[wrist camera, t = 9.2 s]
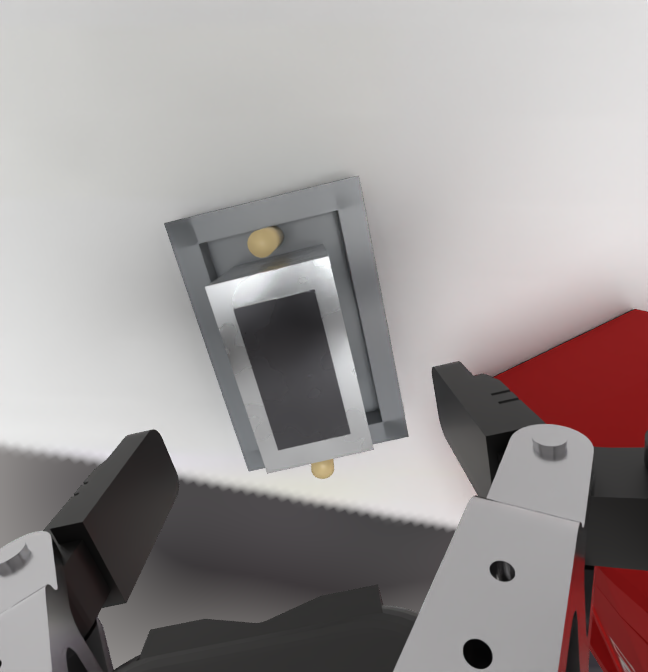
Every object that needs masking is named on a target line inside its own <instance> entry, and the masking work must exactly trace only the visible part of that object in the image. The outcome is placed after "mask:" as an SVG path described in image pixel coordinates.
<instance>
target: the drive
mask: <svg viewBox="0 0 648 672" xmlns="http://www.w3.org/2000/svg"><path fill="white" fill-rule="evenodd" d="M205 289H206V292H207V295H208V298H209V301H210V304H211V307H212V310H213V313H214V316H215V319H216V322H217V325H218V328H219V331H220V334H221V337H222V340H223V343H224V346H225V349H226V352H227V355H228V358H229V361H230V364H231V367H232V370H233V373H234V376H235V379H236V382H237V385H238V388H239V391H240V394H241V397H242V400H243V403H244V406H245V409H246V412H247V415H248V418H249V420H250V423H251V426H252V429H253V432H254V435H255V438H256V441H257V444H258V447H259V450H260V453H261V456H262V459H263V462H264V465H265V468H266V471H267V474H268V473H272V472H276V471H281V470H285V469H290V468H294V467H299V466H303V465H307V464H312V463H316V462H321V461H325V460H330V459H334V458H338V457H343V456H347V455H352V454H356V453H361V452H365V451H369V450H374V448H373V444H372V440H371V436H370V431H369V427H368V423H367V418H366V414H365V410H364V406H363V401H362V397H361V393H360V389H359V384H358V380H357V376H356V371H355V367H354V363H353V359H352V354H351V350H350V346H349V342H348V337H347V333H346V329H345V324H344V320H343V316H342V312H341V307H340V303H339V299H338V295H337V290H336V286H335V282H334V277H333V273H332V269H331V265H330V260H329V256H328V254H327V251H326V249H325V246H324V244H320V245H316V246H312V247H308V248H304V249H300V250H296V251H292V252H288V253H284V254H280V255H276V256H272V257H268V258H264V259H260V260H256V261H252V262H248V263H244V264H240V265H236V266H234V267H233V268H231V269H230V270H229V271H227V272H226V273H224V274H223V275H221V276H220V277H218V278H217V279H216V280H214V281H213V282H211V283H210V284H208V285H207V286H205Z"/></svg>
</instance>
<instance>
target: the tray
mask: <svg viewBox="0 0 648 672" xmlns="http://www.w3.org/2000/svg"><path fill="white" fill-rule="evenodd" d="M164 225H165V227H166V230H167V233H168V236H169V239H170V242H171V245H172V248H173V251H174V254H175V257H176V260H177V263H178V266H179V268H180V271H181V274H182V277H183V280H184V283H185V286H186V289H187V292H188V295H189V298H190V301H191V304H192V307H193V310H194V312H195V315H196V318H197V321H198V324H199V327H200V330H201V333H202V336H203V339H204V342H205V345H206V348H207V351H208V354H209V356H210V359H211V362H212V365H213V368H214V371H215V374H216V377H217V380H218V383H219V386H220V389H221V392H222V395H223V398H224V400H225V403H226V406H227V409H228V412H229V415H230V418H231V421H232V424H233V427H234V430H235V433H236V436H237V439H238V441H239V444H240V447H241V450H242V453H243V456H244V459H245V462H246V465H247V468H248V471H253V470H258V469H262V468H265V465H264V462H263V459H262V456H261V453H260V450H259V447H258V444H257V441H256V438H255V435H254V432H253V429H252V426H251V423H250V420H249V418H248V415H247V412H246V409H245V406H244V403H243V400H242V397H241V394H240V391H239V388H238V385H237V382H236V379H235V376H234V373H233V370H232V367H231V364H230V361H229V358H228V355H227V352H226V349H225V346H224V343H223V340H222V337H221V334H220V331H219V328H218V325H217V322H216V319H215V316H214V313H213V310H212V307H211V304H210V301H209V298H208V295H207V292H206V289H205V286H207V285H208V284H210V283H211V282H213V281H214V280H216V279H217V278H218V277H220V276H221V275H223V274H224V273H226V272H227V271H229V270H230V269H231V268H233V267H234V266H236V265H240V264H244V263H248V262H252V261H256V260H260V259H264V258H268V257H272V256H276V255H280V254H284V253H288V252H292V251H296V250H300V249H304V248H308V247H312V246H316V245H320V244H324V246H325V249H326V251H327V254H328V256H329V260H330V265H331V269H332V273H333V277H334V282H335V286H336V290H337V295H338V299H339V303H340V307H341V312H342V316H343V320H344V324H345V329H346V333H347V337H348V342H349V346H350V350H351V354H352V359H353V363H354V367H355V371H356V376H357V380H358V384H359V389H360V393H361V397H362V401H363V406H364V410H365V414H366V418H367V423H368V427H369V431H370V436H371V440H372V444H377V443H381V442H386V441H390V440H395V439H399V438H404V437H409V436H408V431H407V426H406V420H405V415H404V410H403V405H402V400H401V394H400V389H399V384H398V379H397V373H396V368H395V363H394V358H393V352H392V347H391V342H390V337H389V331H388V326H387V321H386V316H385V310H384V305H383V300H382V295H381V290H380V284H379V279H378V274H377V269H376V263H375V258H374V253H373V248H372V242H371V237H370V232H369V227H368V221H367V216H366V211H365V206H364V200H363V195H362V190H361V185H360V180H359V176H355V177H351V178H347V179H342V180H338V181H334V182H330V183H326V184H322V185H318V186H314V187H310V188H306V189H302V190H298V191H294V192H290V193H286V194H281V195H277V196H273V197H269V198H265V199H261V200H257V201H253V202H249V203H245V204H241V205H237V206H233V207H229V208H225V209H221V210H216V211H212V212H208V213H204V214H200V215H196V216H192V217H188V218H184V219H180V220H176V221H172V222H168V223H164ZM311 470H312V473H313V475H314V476H315V477H317V478H320V479H325V478H328V477H330V476H331V475H332V474H333V472H334V463H333V459H330V460H325V461H321V462H316V463H312V464H311Z"/></svg>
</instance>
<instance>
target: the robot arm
mask: <svg viewBox="0 0 648 672" xmlns="http://www.w3.org/2000/svg"><path fill="white" fill-rule="evenodd" d="M432 378H433V384H434V390H435V396H436V402H437V408H438V415H439V420H440V424H441V427H442V430H443V433H444V436H445V438H446V440H447V442H448V443H449V445H450V447H451V449H452V450H453V452H454V454H455V456H456V457H457V459H458V461H459V463H460V464H461V466H462V468H463V470H464V472H465V473H466V475H467V477H468V479H469V480H470V482H471V484H472V486H473V487H474V489H475V491H476V493H477V495H478V496H473V497H472V498H471V499H470V501H469V502H468V504H467V506H466V509H465V511H464V513H463V515H462V518H461V520H460V522H459V524H458V527H457V529H456V531H455V533H454V536H453V538H452V540H451V542H450V545H449V547H448V549H447V552H446V554H445V556H444V558H443V560H442V563H441V565H440V567H439V569H438V572H437V574H436V576H435V578H434V581H433V583H432V585H431V587H430V590H429V592H428V594H427V596H426V599H425V601H424V603H423V605H422V608H421V610H420V613H418V612H415V611H412V610H409V609H405V608H400V607H396V606H385V605H383V602H382V598H381V595H380V590H379V586H378V585H374V586H369V587H363V588H359V589H353V590H348V591H343V592H338V593H333V594H328V595H323V596H320V597H318V598H315V599H313V600H311V601H309V602H307V603H304V604H302V605H300V606H298V607H296V608H293V609H291V610H289V611H287V612H285V613H282V614H280V615H278V616H276V617H274V618H272V619H270V620H267V621H264V622H261V623H245V622H235V621H223V620H212V619H202V620H197V621H192V622H187V623H182V624H177V625H172V626H167V627H162V628H157V629H151V630H150V632H149V634H148V637H147V640H146V642H145V645H144V647H143V650H142V652H141V655H139V656H137V657H135V658H133V659H131V660H129V661H128V662H126V663H124V664H123V665H121V666H119V667H118V668H116V669H115V670H114V669H113V664H112V660H111V657H110V652H109V648H108V644H107V640H106V636H105V631H104V627H103V625H102V623H101V621H100V620H99V618H98V614H99V612H100V610H101V608H104V607H109V606H114V605H119V604H123V603H126V602H127V600H128V598H129V596H130V594H131V592H132V590H133V588H134V586H135V584H136V581H137V579H138V577H139V575H140V573H141V570H142V569H143V567H144V565H145V563H146V560H147V558H148V556H149V554H150V552H151V550H152V548H153V545H154V544H155V542H156V539H157V537H158V535H159V533H160V531H161V529H162V527H163V525H164V523H165V520H166V518H167V516H168V514H169V512H170V510H171V508H172V505H173V504H174V501H175V499H176V497H177V495H178V490H179V480H178V475H177V472H176V470H175V468H174V465H173V463H172V460H171V458H170V456H169V453H168V451H167V449H166V446H165V444H164V442H163V439H162V437H161V435H160V433H159V432H158V431H156V430H149V431H144V432H140V433H135V434H131V435H127V436H126V437H125V438H124V439H123V440H122V442H121V443H120V444H119V445H118V446H117V448H116V449H115V450H114V451H113V453H112V454H111V455H110V456H109V457H108V459H107V460H106V461H104V462H103V463H102V464H101V465H99V466H98V467H97V468H96V469H94V471H93V472H92V473H91V474H90V475H89V477H88V478H87V479H86V480H85V481H84V485H81V486H80V487H79V488H78V490H77V491H76V492H75V493H74V496H73V497H71V498H70V499H69V500H68V502H67V503H66V504H65V505H64V506H63V508H62V509H61V510H60V511H59V512H58V514H57V515H56V516H55V517H54V518H53V519H52V521H51V522H50V523H49V524H48V526H47V527H46V528H45V529H44V530H43V531H38V532H33V533H30V534H27V535H25V536H22V537H20V538H18V539H16V540H14V541H12V542H10V543H9V544H7V545H5V546H4V547H2V548H1V549H0V672H588V665H589V649H590V638H591V627H592V615H593V604H594V592H595V581H596V570H597V566H601V567H612V568H623V569H633V570H644V571H648V430H647V431H646V433H645V447H634V448H609V447H595V446H593V445H592V443H591V441H590V440H589V439H588V438H587V437H586V436H585V435H583V434H582V433H580V432H578V431H576V430H574V429H571V428H568V427H564V426H560V425H553V424H546V423H545V422H544V421H543V420H542V419H541V418H540V417H539V416H538V415H536V414H535V413H534V412H533V411H532V410H531V409H530V408H529V407H528V406H527V405H526V404H525V403H524V402H523V401H521V400H519V399H518V397H517V396H516V395H515V394H514V393H513V392H512V391H511V392H510V389H509V388H508V387H507V386H505V385H504V384H503V383H502V382H501V381H500V380H498V379H496V378H493V377H491V376H488V375H485V374H480V375H475V376H473V375H472V374H471V373H470V372H469V371H468V370H467V369H466V367H465V366H464V365H463V364H462V363H461V362H460V361H457V362H453V363H448V364H444V365H440V366H435V367H432Z"/></svg>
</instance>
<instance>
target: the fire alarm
mask: <svg viewBox="0 0 648 672" xmlns="http://www.w3.org/2000/svg"><path fill="white" fill-rule="evenodd" d="M493 378H496V379H498V380H500V381H501V382H502V383H503V384H504V385H505V386H507V387H508V388H509V389H510V392H511V391H512V392H513V393H514V394H515V395H516V396H517V397H518V399H519V400H521V401H523V402H524V403H525V404H526V405H527V406H528V407H529V408H530V409H531V410H532V411H533V412H534V413H535V414H536V415H538V416H539V417H540V418H541V419H542V420H543V421H544V422H545V423H546V424H553V425H560V426H564V427H568V428H571V429H574V430H576V431H578V432H580V433H582V434H583V435H585V436H586V437H587V438H588V439H589V440H590V441H591V443H592V445H593V446H595V447H609V448H634V447H645V433H646V431H647V430H648V312H647V311H642V310H637V309H634V310H632V311H630V312H628V313H626V314H624V315H622V316H619V317H617V318H615V319H613V320H611V321H609V322H607V323H605V324H603V325H601V326H599V327H597V328H595V329H593V330H590V331H588V332H586V333H584V334H582V335H580V336H578V337H576V338H574V339H572V340H570V341H568V342H566V343H563V344H561V345H559V346H557V347H555V348H553V349H551V350H549V351H547V352H545V353H543V354H541V355H539V356H537V357H534V358H532V359H530V360H528V361H526V362H524V363H522V364H520V365H518V366H516V367H514V368H512V369H510V370H507V371H505V372H503V373H501V374H499V375H497V376H495V377H493ZM590 650H591V652H592V654H593V655H594V657H595V659H596V660H597V662H598V663H599V665H600V667H601V668H602V670H603V672H648V571H644V570H633V569H623V568H612V567H601V566H597V570H596V581H595V592H594V604H593V615H592V627H591V638H590Z"/></svg>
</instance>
